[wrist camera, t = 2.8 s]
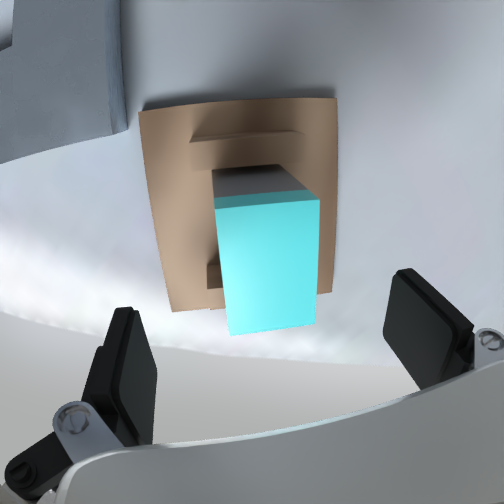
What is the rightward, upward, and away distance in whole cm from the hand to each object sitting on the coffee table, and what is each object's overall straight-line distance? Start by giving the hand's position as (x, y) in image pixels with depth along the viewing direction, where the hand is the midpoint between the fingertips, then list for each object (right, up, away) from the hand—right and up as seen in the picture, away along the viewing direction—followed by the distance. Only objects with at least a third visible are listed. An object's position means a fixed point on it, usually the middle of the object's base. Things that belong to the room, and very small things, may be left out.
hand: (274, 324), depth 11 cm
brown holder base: (-1, +5, +10) cm, 12 cm away
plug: (-1, +5, +9) cm, 11 cm away
